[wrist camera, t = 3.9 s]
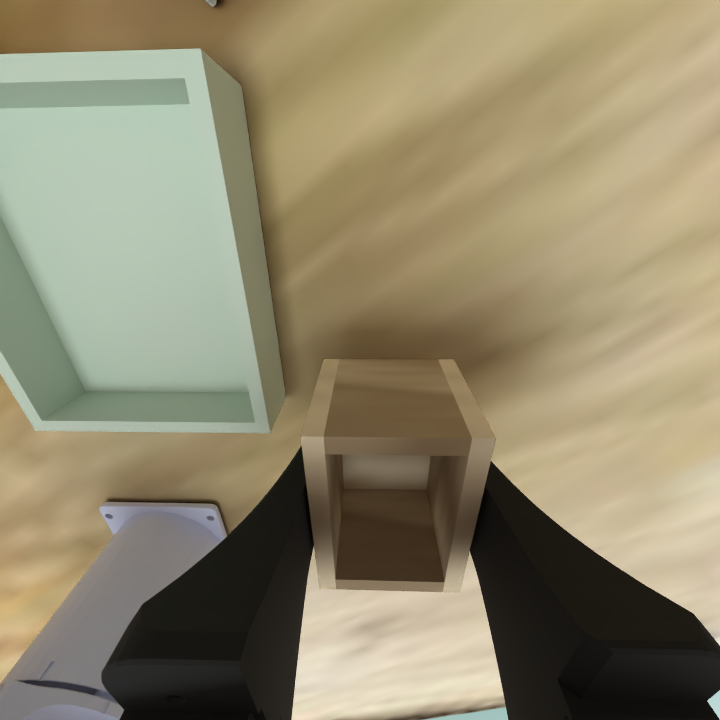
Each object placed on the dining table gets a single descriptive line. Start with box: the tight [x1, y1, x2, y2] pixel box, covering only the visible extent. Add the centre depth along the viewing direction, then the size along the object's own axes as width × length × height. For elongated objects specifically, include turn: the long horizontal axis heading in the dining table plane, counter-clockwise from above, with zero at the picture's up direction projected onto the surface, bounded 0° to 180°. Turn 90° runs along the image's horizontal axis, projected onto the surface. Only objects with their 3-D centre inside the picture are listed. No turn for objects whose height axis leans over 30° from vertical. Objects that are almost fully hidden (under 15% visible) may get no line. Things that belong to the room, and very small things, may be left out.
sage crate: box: [0, 49, 286, 433], centre depth 13 cm, size 13×11×3 cm
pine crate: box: [300, 359, 496, 593], centre depth 12 cm, size 7×5×4 cm
